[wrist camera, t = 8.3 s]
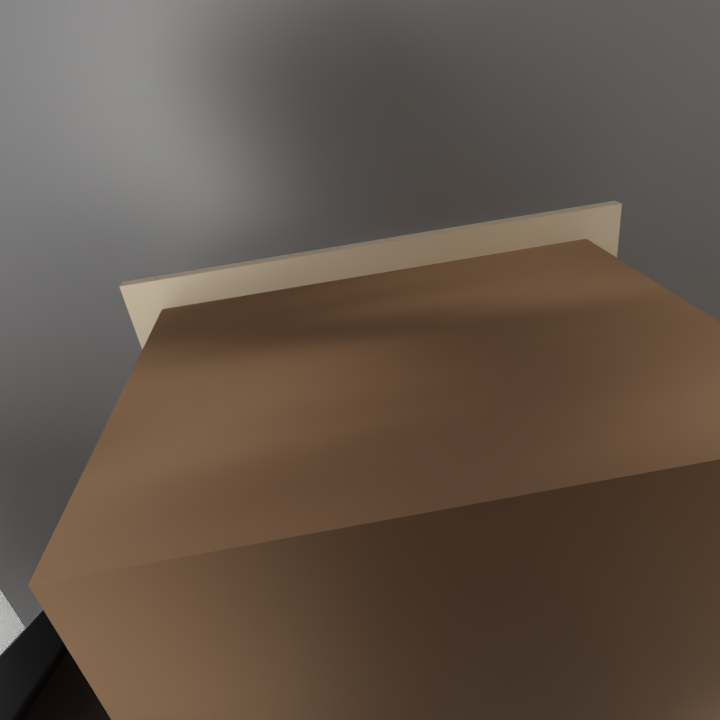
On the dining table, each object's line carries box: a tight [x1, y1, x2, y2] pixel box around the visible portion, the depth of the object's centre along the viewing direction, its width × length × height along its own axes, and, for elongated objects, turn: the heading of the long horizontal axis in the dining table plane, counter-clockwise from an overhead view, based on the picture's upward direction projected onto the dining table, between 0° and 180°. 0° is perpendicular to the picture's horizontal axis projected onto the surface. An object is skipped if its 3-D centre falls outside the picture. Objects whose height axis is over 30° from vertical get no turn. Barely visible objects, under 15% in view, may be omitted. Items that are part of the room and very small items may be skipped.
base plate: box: [0, 0, 720, 627], centre depth 11 cm, size 16×16×2 cm
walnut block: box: [28, 239, 720, 720], centre depth 8 cm, size 6×6×5 cm
